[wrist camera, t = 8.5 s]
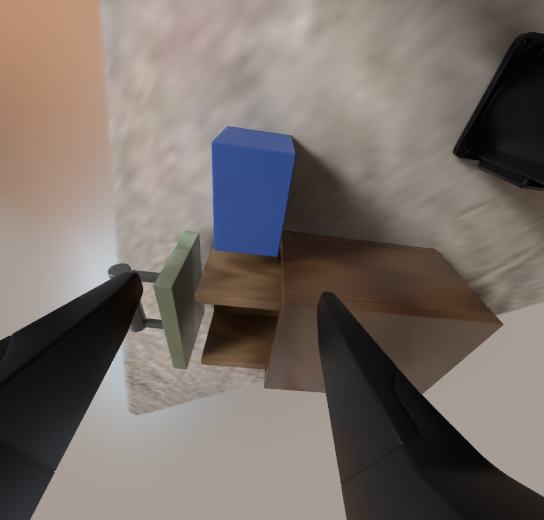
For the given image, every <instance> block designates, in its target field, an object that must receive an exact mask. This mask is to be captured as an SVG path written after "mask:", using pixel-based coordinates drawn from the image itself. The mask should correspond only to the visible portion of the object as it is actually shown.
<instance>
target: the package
mask: <svg viewBox="0 0 544 520" xmlns="http://www.w3.org/2000/svg"><path fill="white" fill-rule="evenodd" d="M295 158H296V153H295V149H294V145H293V141H292V137H291V136H290V135H283V134H276V133H269V132H263V131H256V130H249V129H242V128H235V127H226V128H225V129H224V130H223V131H222V133H221V134H220V135H219V136H218V137H217V138H216V139H215V140H214V141H213V142H212V177H213V215H214V249H215V250H218V251H227V252H236V253H245V254H254V255H263V256H272V257H278V253H279V247H280V242H281V236H282V230H283V225H284V219H285V214H286V208H287V203H288V197H289V191H290V186H291V180H292V175H293V169H294V163H295Z"/></svg>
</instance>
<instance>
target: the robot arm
mask: <svg viewBox="0 0 544 520" xmlns="http://www.w3.org/2000/svg"><path fill="white" fill-rule="evenodd" d="M524 40H526V43H525V46H524V47H523V48H522V49H521V44H522V43H523V41H524ZM463 147H465V149H464V150H463V151H462V152H460V151H461V149H462V148H463ZM453 154H454V155H455V156H457V157H459V158H465V159H472V160H479V161H480V162H479V163H478V168H479V169H481V170H483V171H485V172H487V173H489V174H492V175H494V176H496V177H498V178H500V179H503V180H505V181H507V182H509V183H511V184H513V185H516V186H518V187H520V188H524V189H531V190H538V191H544V34H542V33H537V32H528V33H523V34H521V35H519V36H518V37H517V38H516V39H515V40H514V42H513V43H512V45H511V47H510V48H509V50H508V52H507V54H506V56H505V57H504V59H503V61H502V63H501V65H500V66H499V68H498V70H497V72H496V74H495V75H494V77H493V79H492V81H491V83H490V84H489V86H488V88H487V90H486V92H485V93H484V95H483V97H482V99H481V101H480V102H479V104H478V106H477V108H476V110H475V111H474V113H473V115H472V117H471V119H470V120H469V122H468V124H467V126H466V128H465V129H464V131H463V133H462V135H461V137H460V138H459V140H458V142H457V144H456V146H455V147H454V150H453ZM142 294H143V286H142V282H141V279H140V275H139V274H138V273H137V272H132V271H125V272H123V273H121V274H119V275H117V276H116V277H114V278H112V279H110V280H108V281H107V282H105V283H103V284H101V285H100V286H98V287H96V288H94V289H92V290H90V291H89V292H87V293H85V294H83V295H81V296H80V297H78V298H76V299H74V300H72V301H71V302H69V303H67V304H65V305H63V306H62V307H60V308H58V309H56V310H54V311H53V312H51V313H49V314H47V315H46V316H44V317H42V318H40V319H38V320H37V321H35V322H33V323H31V324H29V325H28V326H26V327H24V328H22V329H20V330H19V331H17V332H15V333H13V334H12V336H8V337H6V338H4V339H2V340H0V520H30V519H31V517H32V515H33V513H34V511H35V509H36V507H37V506H38V504H39V502H40V500H41V498H42V496H43V494H44V492H45V490H46V488H47V486H48V484H49V482H50V480H51V479H52V477H53V475H54V473H55V472H54V471H55V470H56V469H57V467H58V465H59V463H60V461H61V459H62V457H63V455H64V453H65V451H66V449H67V447H68V446H69V444H70V442H71V440H72V438H73V436H74V434H75V432H76V430H77V428H78V426H79V424H80V422H81V421H82V419H83V417H84V415H85V413H86V411H87V409H88V407H89V405H90V403H91V401H92V399H93V398H94V396H95V394H96V392H97V390H98V388H99V386H100V384H101V382H102V380H103V378H104V376H105V375H106V373H107V371H108V369H109V367H110V365H111V363H112V361H113V359H114V357H115V355H116V353H117V352H118V350H119V348H120V346H121V344H122V342H123V340H124V338H125V336H126V334H127V332H128V330H129V328H130V325H131V323H132V320H133V317H134V315H135V312H136V310H137V307H138V304H139V302H140V299H141V296H142ZM317 328H318V347H319V354H320V360H321V366H322V372H323V378H324V384H325V390H326V396H327V402H328V408H329V414H330V420H331V427H332V433H333V439H334V444H335V451H336V456H337V462H338V468H339V475H340V481H341V485H342V486H341V487H342V494H343V500H344V505H345V512H346V518H347V520H544V497H543V496H541V495H540V494H538V493H536V492H534V491H533V490H531V489H529V488H527V487H526V486H524V485H523V484H521V483H519V482H517V481H516V480H514V479H512V478H511V477H509V476H508V475H506V474H505V473H503V472H502V471H500V470H499V469H498V468H497V467H495V466H494V465H493V464H491V463H490V462H489V461H488V460H487V459H486V458H484V457H483V456H482V455H481V454H480V453H479V452H478V451H477V450H476V449H475V448H474V447H473V446H472V445H471V444H470V443H469V442H468V441H467V440H466V439H465V438H464V437H463V436H462V435H461V434H460V433H459V432H458V431H457V430H456V429H455V428H454V427H453V426H452V425H451V424H450V423H449V422H448V421H447V420H446V419H445V418H444V417H443V416H442V415H441V414H440V413H439V412H438V411H437V410H436V409H435V408H434V407H433V406H432V405H431V404H430V402H429V401H428V400H427V399H426V398H425V397H424V396H423V395H422V394H421V393H420V392H419V391H418V390H417V389H416V387H415V386H414V385H413V384H412V383H411V382H410V381H409V380H408V378H407V377H406V376H405V375H404V374H403V373H402V372H401V370H400V369H399V368H397V366H396V365H395V363H394V362H393V361H392V360H391V359H390V358H389V357H388V355H387V354H386V353H385V352H384V351H383V350H382V348H381V347H380V346H379V345H378V344H377V343H376V341H375V340H374V339H373V338H372V337H371V336H370V334H369V333H368V332H367V331H366V330H365V329H364V327H363V326H362V325H361V324H360V323H359V322H358V320H357V319H356V318H355V317H354V316H353V315H352V313H351V312H350V311H349V310H348V309H347V308H346V306H345V305H344V304H343V303H342V302H341V301H340V299H339V298H338V297H337V296H336V295H335V294H334V293H333V292H325V291H324V292H322V294H321V297H320V299H319V302H318V305H317Z"/></svg>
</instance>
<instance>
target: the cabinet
mask: <svg viewBox="0 0 544 520" xmlns="http://www.w3.org/2000/svg"><path fill="white" fill-rule="evenodd" d="M279 251H281V295H282V303H281V307H280V312H279V316H278V321H277V325H276V330H275V334H274V338H273V343H272V347H271V352H270V356H269V361H268V365H267V369H265V370H264V388H269V389H282V390H296V391H309V392H322V393H326V390H325V384H324V378H323V372H322V366H321V360H320V354H319V347H318V328H317V305H318V302H319V299H320V297H321V294H322V292H324V291H325V292H333V293H334V294H335V295H336V296H337V297H338V298H339V299H340V301H341V302H342V303H343V304H344V305H345V306H346V308H347V309H348V310H349V311H350V312H351V313H352V315H353V316H354V317H355V318H356V319H357V320H358V322H359V323H360V324H361V325H362V326H363V327H364V329H365V330H366V331H367V332H368V333H369V334H370V336H371V337H372V338H373V339H374V340H375V341H376V343H377V344H378V345H379V346H380V347H381V348H382V350H383V351H384V352H385V353H386V354H387V355H388V357H389V358H390V359H391V360H392V361H393V362H394V363H395V365H396V366H397V368H399V369H400V370H401V372H402V373H403V374H404V375H405V376H406V377H407V378H408V380H409V381H410V382H411V383H412V384H413V385H414V386H415V387H416V389H417V390H418V391H419V392H420V393H421V394H423V393H424V392H425V391H426V390H427V389H429V388H430V387H431V386H432V385H434V384H435V383H436V382H437V381H438V380H440V379H441V378H442V377H443V376H444V375H445V374H446V373H448V372H449V371H450V370H451V369H452V368H453V367H455V366H456V365H457V364H458V363H459V362H460V361H462V360H463V359H464V358H465V357H466V356H467V355H469V354H470V353H471V352H472V351H473V350H475V349H476V348H477V347H478V346H479V345H480V344H482V343H483V342H484V341H485V340H486V339H487V338H489V337H490V336H491V335H492V334H493V333H495V332H496V331H497V330H498V329H499V328H500V327H502V325H503V323H502V322H501V321H500V320H499V319H498V318H497V317H496V316H495V314H494V313H493V312H492V311H491V310H490V309H489V308H488V307H487V306H486V305H485V303H484V302H483V301H482V300H481V299H480V298H479V297H478V296H477V295H476V294H475V293H474V291H473V290H472V289H471V288H470V287H469V286H468V285H467V284H466V283H465V282H464V281H463V279H462V278H461V277H460V276H459V275H458V274H457V273H456V272H455V271H454V270H453V269H452V267H451V266H450V265H449V264H448V263H447V262H446V261H445V260H444V259H443V258H442V257H441V255H439V253H438V252H437V251H436V250H435V249H429V248H420V247H412V246H403V245H395V244H387V243H378V242H370V241H361V240H353V239H345V238H336V237H328V236H319V235H311V234H303V233H294V232H286V231H282V236H281V242H280V247H279Z"/></svg>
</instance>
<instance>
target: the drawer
mask: <svg viewBox="0 0 544 520" xmlns="http://www.w3.org/2000/svg"><path fill="white" fill-rule="evenodd" d="M125 271H131V268H130V266H129V265H128V264H123V263H122V264H116V265H114V266H112V267H110V268H109V270H108V274H109V277H110V279H112V278H114V277H116V276H117V275H119V274H121V273H123V272H125ZM132 272H137V273H138V274H139V275H140V279H141V281H142V282H152V283H154V285H153V288H154V292H155V296H156V300H157V304H158V308H159V312H160V316H161V320H157V319H146V316H145V313H144V310H143V306H142V303H141V300H140V302H139V304H138V307H137V310H136V312H135V315H134V317H133V320H132V323H131V325H130V330H131V331H134V332H139V331H142V330H143V329H145V328H146V327H149V328H160V329H164V332H165V336H166V340H167V344H168V348H169V352H170V356H171V360H172V364H173V368H179V369H187V367H188V363H189V360H190V357H191V354H192V350H193V347H194V344H195V341H196V337H197V334H198V331H199V328H200V324H201V321H202V318H203V315H204V311H205V309H204V303H205V304H214V313H213V317H212V321H211V325H210V328H209V332H208V336H207V339H206V343H205V347H204V351H203V354H202V358H201V363H202V364H205V365H217V366H230V367H242V368H255V369H267V365H268V361H269V356H270V352H271V347H272V343H273V338H274V334H275V330H276V325H277V321H278V316H279V312H280V307H281V303H282V295H281V251H279V253H278V257H272V256H263V255H254V254H245V253H236V252H227V251H218V250H215V249H214V245H213V247H212V250H211V252H210V255H209V258H208V260H207V263H206V266H205V268H204V271H203V274H202V267H201V253H200V239H199V233H198V232H189V231H185V233H184V234H183V236H182V238H181V239H180V241H179V243H178V244H177V246H176V248H175V249H174V251H173V253H172V255H171V256H170V258H169V260H168V261H167V263H166V265H165V266H164V268H163V270H162V271H161V273H155V272H145V271H136V270H132Z"/></svg>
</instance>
